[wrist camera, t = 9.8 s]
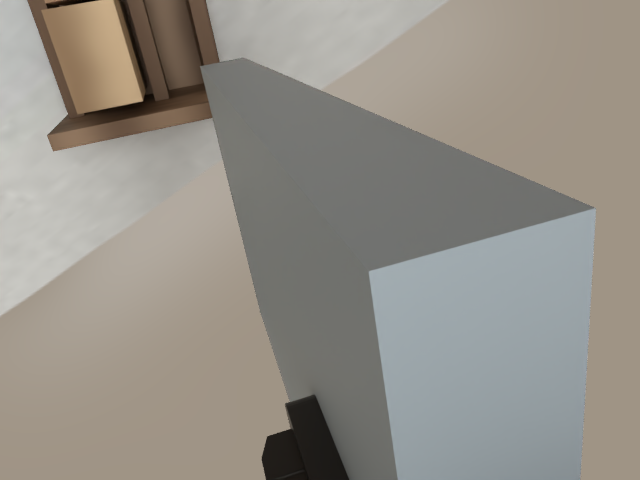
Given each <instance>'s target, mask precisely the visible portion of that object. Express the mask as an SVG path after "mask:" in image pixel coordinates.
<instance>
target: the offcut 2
mask: <svg viewBox="0 0 640 480" xmlns="http://www.w3.org/2000/svg"><path fill="white" fill-rule="evenodd" d="M41 11H42V14H43V17H44V20H45V23H46V25H47V28H48V31H49V34H50V37H51V40H52V43H53V45H54V48H55V51H56V54H57V57H58V60H59V63H60V65H61V68H62V71H63V74H64V77H65V80H66V82H67V85H68V88H69V91H70V94H71V97H72V100H73V102H74V105H75V108H76V111H77V114H82V113H87V112H92V111H97V110H102V109H107V108H112V107H117V106H122V105H127V104H132V103H137V102H142V101H143V99H144V95H145V91H146V87H147V81H146V77H145V74H144V71H143V67H142V64H141V60H140V57H139V53H138V50H137V46H136V43H135V39H134V36H133V32H132V29H131V25H130V22H129V18H128V15H127V12H126V8H125V5H124V2H121V1H119V0H99V1H93V2H87V3H81V4H74V5H68V6H62V7H56V8H50V9H44V10H41Z"/></svg>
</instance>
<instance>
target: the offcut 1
mask: <svg viewBox="0 0 640 480" xmlns="http://www.w3.org/2000/svg"><path fill="white" fill-rule="evenodd" d="M44 1H45V3H47V4H55V5H63V6H68V5H74V4H81V3H87V2H93V1H99V0H44Z"/></svg>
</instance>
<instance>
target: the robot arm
mask: <svg viewBox="0 0 640 480" xmlns="http://www.w3.org/2000/svg"><path fill="white" fill-rule="evenodd" d="M285 407H286V411H287V416H288V420H289V423H290V428H291V429H289V430H286V431H283V432H280V433H277V434H273V435H270V436H268V437H267V440H266V444H265V448H264V451H263V455H262V463H263V467H264V472H265V476H266V480H349V477H348V475H347V473H346V470H345V468H344V465H343V463H342V460H341V458H340V455H339V453H338V450H337V448H336V445H335V443H334V440H333V438H332V435H331V433H330V430H329V428H328V425H327V423H326V420H325V418H324V415H323V413H322V410H321V408H320V405H319V403H318V400H317V398H316V396H315V395H311V396H307V397H304V398H301V399H298V400H295V401H292V402H289V403H286V404H285Z"/></svg>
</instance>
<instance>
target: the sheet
mask: <svg viewBox="0 0 640 480" xmlns="http://www.w3.org/2000/svg"><path fill="white" fill-rule="evenodd" d="M200 68H201V72H202V77H203V81H204V85H205V89H206V93H207V97H208V101H209V105H210V109H211V113H212V117H213V121H214V125H215V130H216V134H217V138H218V142H219V146H220V150H221V154H222V158H223V162H224V166H225V170H226V174H227V178H228V182H229V186H230V191H231V195H232V199H233V202H234V207H235V211H236V215H237V219H238V223H239V227H240V231H241V235H242V240H243V244H244V248H245V252H246V256H247V260H248V264H249V268H250V272H251V276H252V280H253V284H254V288H255V292H256V297H257V300H258V305H259V309H260V313H261V315H262V318H263V322H264V324H265V328H266V331H267V334H268V337H269V340H270V343H271V346H272V349H273V352H274V355H275V358H276V361H277V364H278V367H279V370H280V373H281V376H282V379H283V382H284V385H285V388H286V391H287V395H288V397H289V400H290V402H292V401H295V400H298V399H301V398H304V397H307V396H311V395H315V396H316V398H317V400H318V403H319V405H320V408H321V410H322V413H323V415H324V418H325V420H326V423H327V425H328V428H329V430H330V433H331V435H332V438H333V440H334V443H335V445H336V448H337V450H338V453H339V455H340V458H341V460H342V463H343V465H344V468H345V470H346V473H347V475H348V477H349V480H580V474H581V457H582V439H583V422H584V405H585V386H586V371H587V353H588V336H589V319H590V301H591V284H592V267H593V250H594V232H595V215H596V208H594V207H592V206H590V205H587V204H585V203H583V202H580V201H578V200H575V199H573V198H571V197H569V196H566V195H564V194H562V193H559V192H557V191H555V190H552V189H550V188H547V187H545V186H543V185H540V184H538V183H536V182H534V181H531V180H528V179H526V178H524V177H522V176H520V175H517V174H515V173H512V172H510V171H508V170H505V169H503V168H501V167H498V166H496V165H494V164H491V163H489V162H487V161H484V160H482V159H480V158H477V157H475V156H472V155H470V154H468V153H466V152H463V151H461V150H459V149H456V148H454V147H452V146H449V145H447V144H445V143H442V142H440V141H438V140H435V139H433V138H430V137H428V136H426V135H424V134H421V133H419V132H417V131H414V130H412V129H409V128H407V127H405V126H402V125H400V124H398V123H395V122H393V121H391V120H388V119H386V118H384V117H381V116H379V115H377V114H374V113H372V112H369V111H367V110H365V109H363V108H360V107H358V106H355V105H353V104H351V103H349V102H346V101H344V100H341V99H339V98H337V97H334V96H332V95H330V94H327V93H325V92H323V91H321V90H318V89H316V88H313V87H311V86H309V85H306V84H304V83H302V82H299V81H297V80H295V79H292V78H290V77H288V76H285V75H283V74H281V73H278V72H276V71H274V70H271V69H269V68H267V67H264V66H262V65H260V64H257V63H255V62H253V61H250V60H248V59H246V58H240V59H235V60H229V61H224V62H219V63H214V64H209V65H204V66H200Z"/></svg>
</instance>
